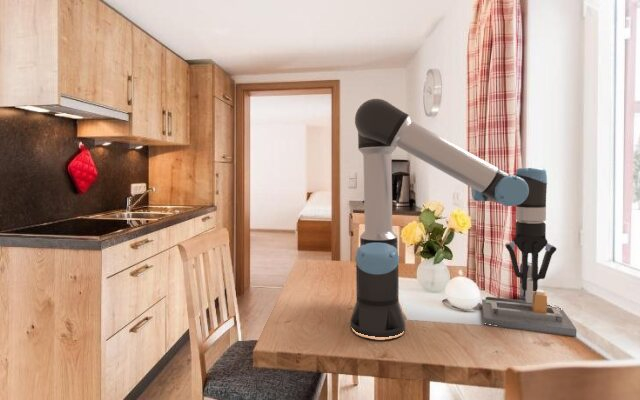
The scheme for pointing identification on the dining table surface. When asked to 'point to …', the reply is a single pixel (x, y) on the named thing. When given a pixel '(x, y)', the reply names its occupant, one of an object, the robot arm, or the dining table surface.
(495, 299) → the dark gray bar
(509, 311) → the panel
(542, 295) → the toggle
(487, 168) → the robot arm
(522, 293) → the energy drink
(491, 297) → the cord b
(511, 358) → the dining table surface
